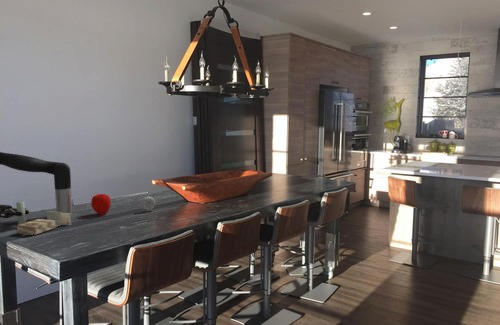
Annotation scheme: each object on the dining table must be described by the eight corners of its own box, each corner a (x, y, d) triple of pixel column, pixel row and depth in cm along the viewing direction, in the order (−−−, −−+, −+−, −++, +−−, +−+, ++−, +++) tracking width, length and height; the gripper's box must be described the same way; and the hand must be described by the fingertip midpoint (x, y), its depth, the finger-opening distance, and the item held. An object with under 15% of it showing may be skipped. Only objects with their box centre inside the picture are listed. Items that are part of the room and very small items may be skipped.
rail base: (49, 222, 238) (48, 211, 238) (71, 224, 233) (70, 212, 233) (13, 234, 215) (12, 221, 214) (36, 236, 210) (35, 223, 209)
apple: (87, 215, 256) (86, 194, 254) (102, 211, 266) (101, 191, 265) (100, 217, 250) (99, 196, 249) (115, 213, 261) (114, 193, 259)
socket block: (38, 225, 229) (38, 219, 228) (55, 227, 225) (55, 220, 224) (17, 232, 215) (16, 225, 215) (35, 234, 212) (34, 227, 211)
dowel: (22, 225, 231) (20, 201, 230) (27, 226, 230) (26, 201, 228) (16, 227, 227) (14, 202, 226) (21, 228, 226) (20, 203, 224)
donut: (142, 213, 261) (141, 197, 260) (139, 212, 264) (139, 197, 263) (156, 210, 268) (155, 195, 267) (153, 209, 270) (153, 195, 269)
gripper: (-11, 207, 225) (13, 209, 220) (12, 202, 238) (34, 204, 233) (-9, 220, 226) (14, 222, 221) (13, 214, 239) (35, 216, 234)
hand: (24, 213), depth 227 cm, fingers closed on dowel, 4 cm apart
